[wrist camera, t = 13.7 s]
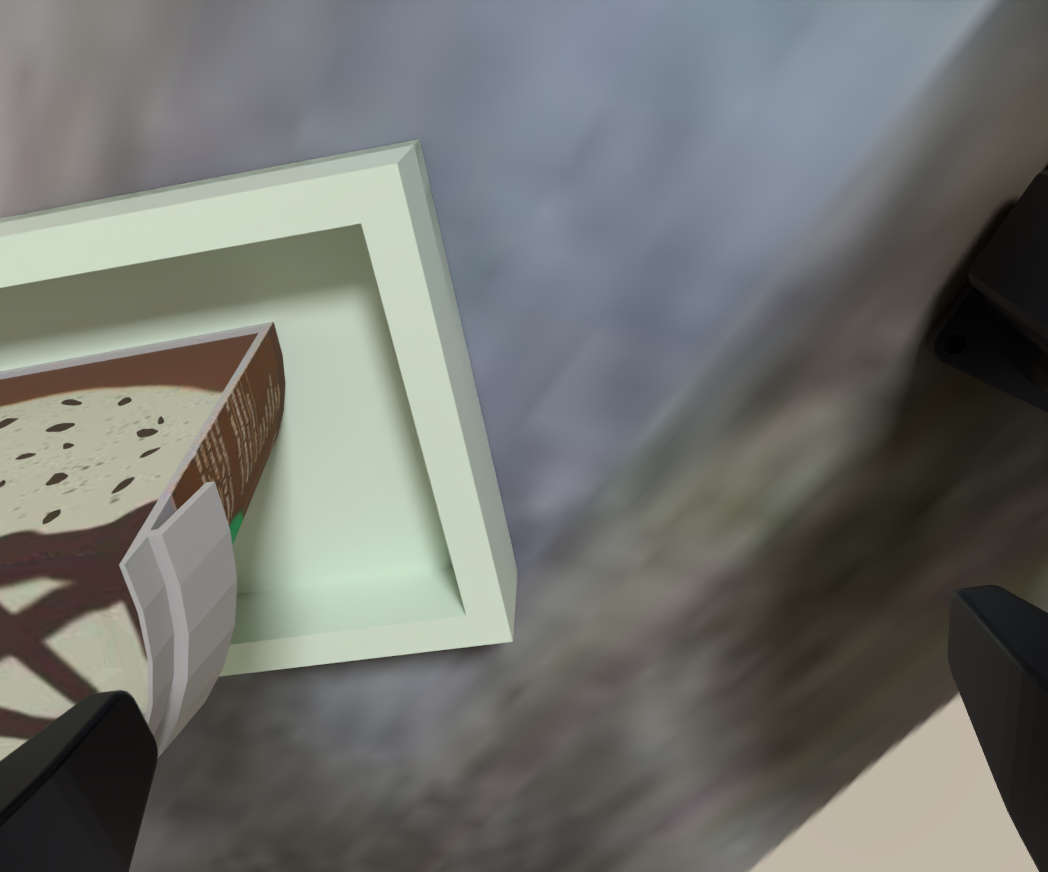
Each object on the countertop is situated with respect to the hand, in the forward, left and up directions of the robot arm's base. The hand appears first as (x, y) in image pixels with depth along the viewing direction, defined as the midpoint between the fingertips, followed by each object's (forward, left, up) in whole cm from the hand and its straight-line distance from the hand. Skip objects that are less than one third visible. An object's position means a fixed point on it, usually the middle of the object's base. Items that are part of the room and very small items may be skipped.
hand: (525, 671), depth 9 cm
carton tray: (+8, +8, -13) cm, 17 cm away
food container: (+8, +8, -12) cm, 17 cm away
